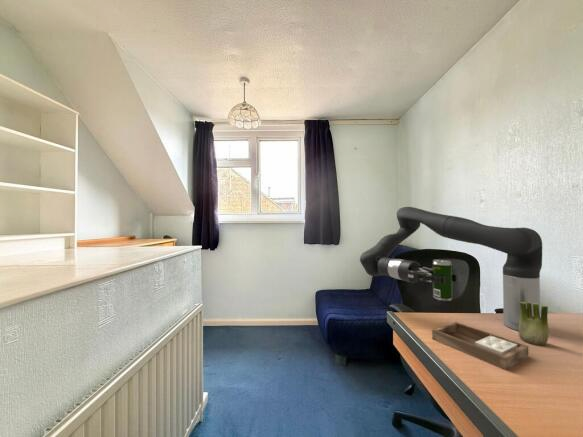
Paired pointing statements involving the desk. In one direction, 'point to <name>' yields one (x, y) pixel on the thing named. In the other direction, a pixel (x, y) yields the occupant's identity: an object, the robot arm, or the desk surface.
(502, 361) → the crate
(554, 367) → the desk surface
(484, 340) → the egg carton
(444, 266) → the beer can
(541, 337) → the fennel bulb
